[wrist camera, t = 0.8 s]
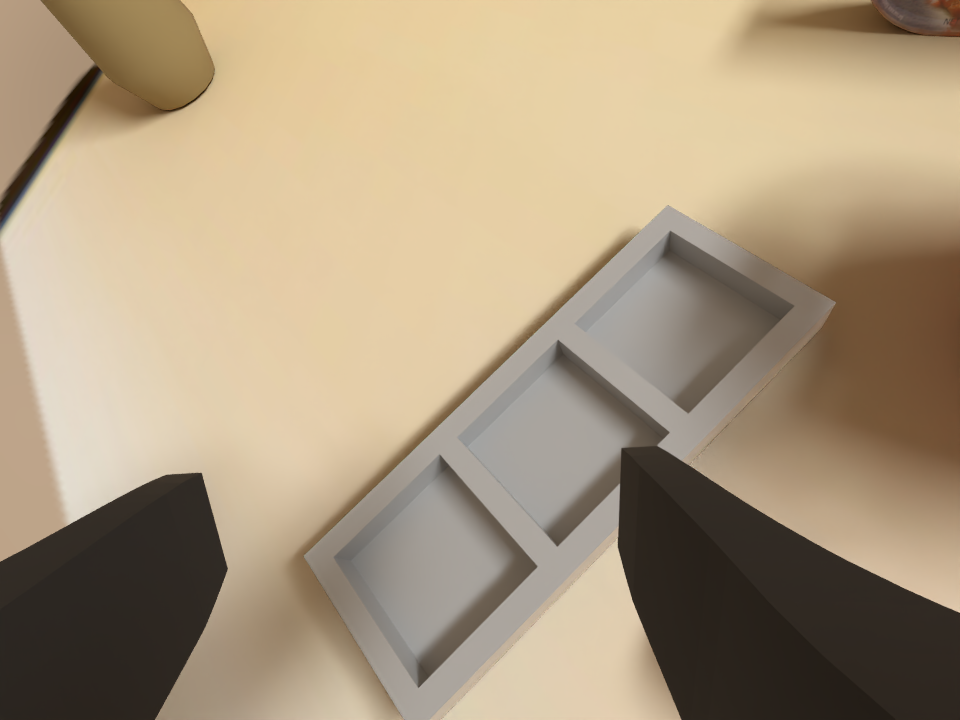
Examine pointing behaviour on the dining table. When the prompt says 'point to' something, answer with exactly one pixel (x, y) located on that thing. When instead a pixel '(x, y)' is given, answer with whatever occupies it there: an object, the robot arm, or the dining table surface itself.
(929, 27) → the tin
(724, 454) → the dining table surface
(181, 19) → the squeeze bottle
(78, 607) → the robot arm
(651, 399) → the grey compartment tray
